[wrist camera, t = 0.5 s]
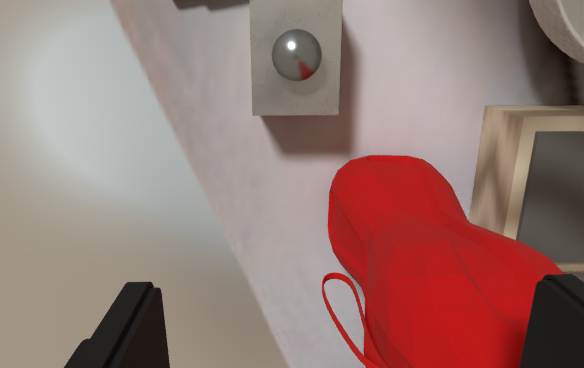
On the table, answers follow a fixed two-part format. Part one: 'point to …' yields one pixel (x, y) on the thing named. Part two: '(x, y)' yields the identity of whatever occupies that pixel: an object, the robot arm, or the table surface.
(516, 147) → the stand
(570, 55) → the cereal bowl
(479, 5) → the table surface
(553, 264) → the water bottle
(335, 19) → the housing
